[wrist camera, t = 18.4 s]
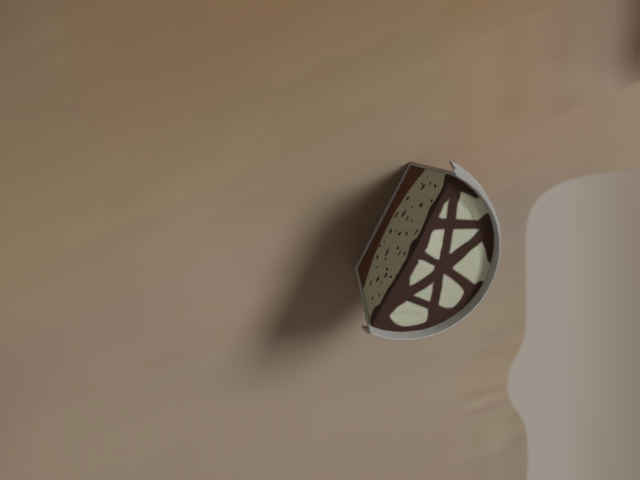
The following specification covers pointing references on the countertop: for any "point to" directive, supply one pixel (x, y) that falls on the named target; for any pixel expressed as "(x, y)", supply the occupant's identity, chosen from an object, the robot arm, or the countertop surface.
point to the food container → (429, 254)
